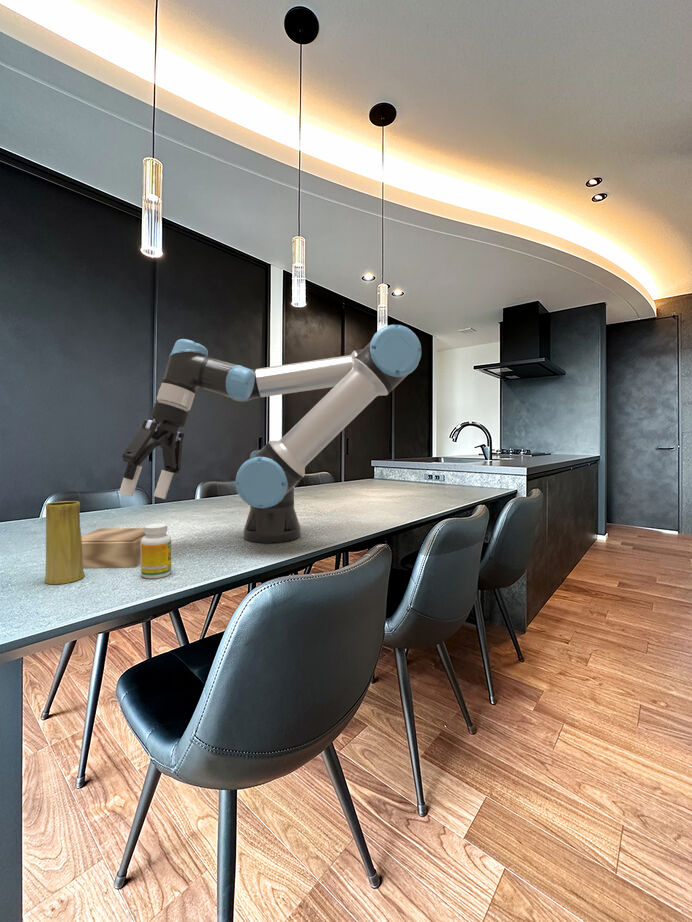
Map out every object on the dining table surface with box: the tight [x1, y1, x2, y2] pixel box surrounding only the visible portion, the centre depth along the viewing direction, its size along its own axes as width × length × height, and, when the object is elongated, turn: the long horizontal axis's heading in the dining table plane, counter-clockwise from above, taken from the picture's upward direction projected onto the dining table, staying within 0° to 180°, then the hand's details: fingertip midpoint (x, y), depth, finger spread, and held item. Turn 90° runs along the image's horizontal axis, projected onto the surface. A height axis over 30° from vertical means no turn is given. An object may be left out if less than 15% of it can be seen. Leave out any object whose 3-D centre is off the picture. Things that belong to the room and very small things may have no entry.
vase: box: [44, 500, 85, 585], centre depth 77 cm, size 6×6×14 cm
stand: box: [81, 527, 146, 569], centre depth 91 cm, size 14×14×5 cm
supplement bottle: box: [140, 523, 172, 580], centre depth 80 cm, size 5×5×10 cm
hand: (143, 496), depth 93 cm, fingers open, 13 cm apart
